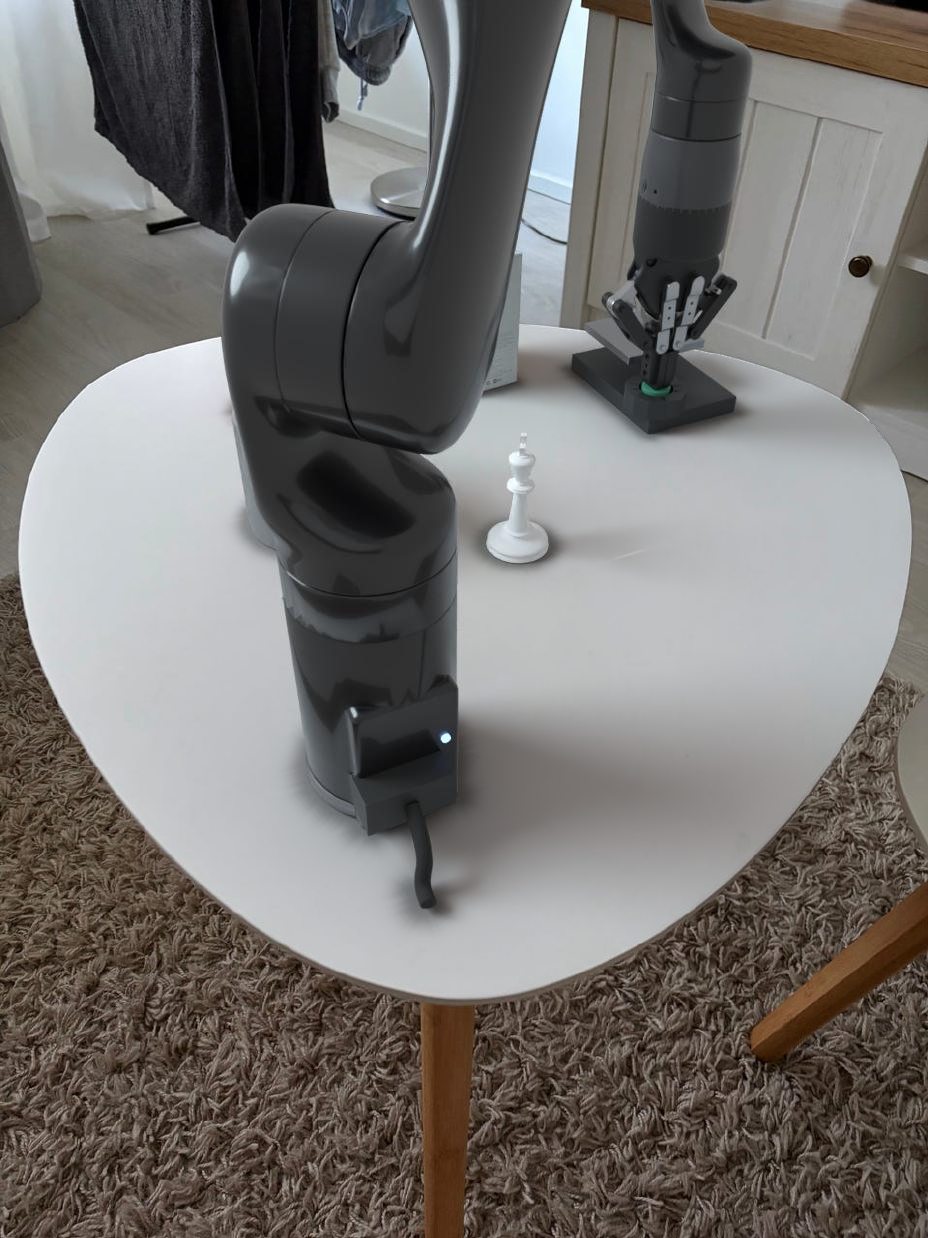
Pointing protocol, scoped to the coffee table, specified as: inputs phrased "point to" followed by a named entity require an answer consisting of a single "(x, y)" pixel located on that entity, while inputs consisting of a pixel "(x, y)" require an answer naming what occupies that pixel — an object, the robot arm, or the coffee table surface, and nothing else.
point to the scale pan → (626, 340)
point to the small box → (508, 333)
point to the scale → (622, 388)
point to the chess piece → (519, 516)
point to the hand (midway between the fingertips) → (656, 384)
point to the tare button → (659, 392)
